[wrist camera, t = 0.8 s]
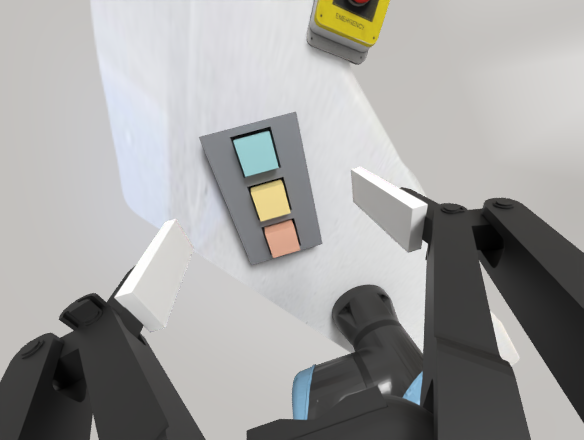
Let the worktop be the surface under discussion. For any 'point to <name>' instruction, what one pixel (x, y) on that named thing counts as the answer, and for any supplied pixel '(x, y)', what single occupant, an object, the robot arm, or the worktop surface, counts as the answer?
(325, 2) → the emergency button
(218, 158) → the button panel
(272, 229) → the terracotta button
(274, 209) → the yellow button
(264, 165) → the teal button
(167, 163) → the worktop surface
